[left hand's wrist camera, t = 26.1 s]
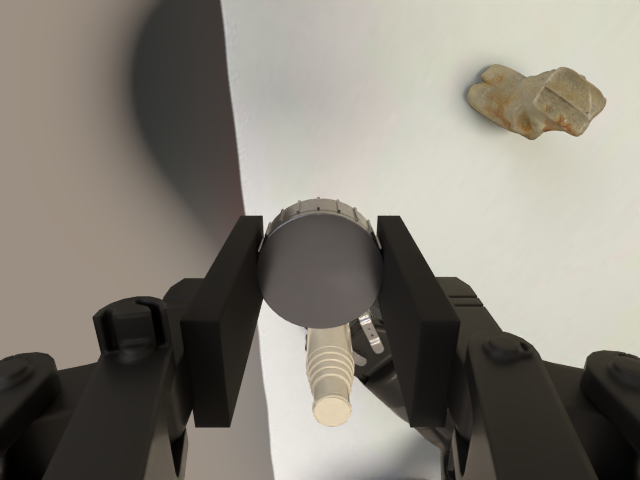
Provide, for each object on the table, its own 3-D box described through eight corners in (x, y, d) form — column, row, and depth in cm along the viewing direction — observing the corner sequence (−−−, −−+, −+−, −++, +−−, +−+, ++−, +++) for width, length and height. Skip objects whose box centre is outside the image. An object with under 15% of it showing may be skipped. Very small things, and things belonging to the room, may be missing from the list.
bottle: (351, 278, 51) (371, 409, 31) (329, 302, 53) (335, 442, 32) (324, 259, 50) (328, 380, 30) (303, 283, 52) (292, 415, 31)
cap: (370, 186, 13) (376, 200, 12) (385, 294, 15) (393, 319, 13) (248, 208, 14) (239, 225, 12) (275, 312, 15) (271, 339, 14)
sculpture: (494, 53, 42) (582, 40, 28) (541, 98, 43) (646, 107, 29) (454, 101, 43) (518, 111, 30) (501, 142, 45) (583, 170, 31)
